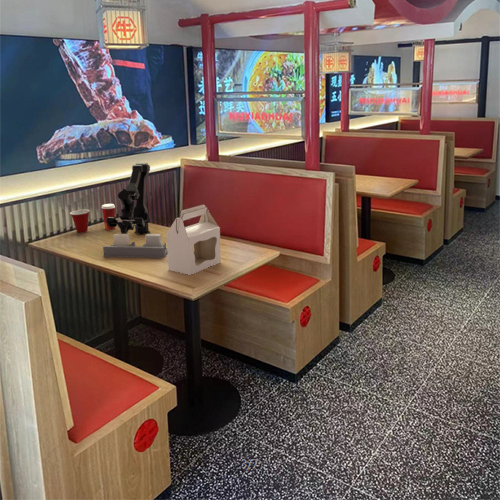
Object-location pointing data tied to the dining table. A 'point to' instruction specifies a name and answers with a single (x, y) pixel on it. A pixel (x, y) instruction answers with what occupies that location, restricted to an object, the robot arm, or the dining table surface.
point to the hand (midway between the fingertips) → (122, 236)
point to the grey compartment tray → (135, 251)
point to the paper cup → (108, 214)
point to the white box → (153, 240)
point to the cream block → (121, 240)
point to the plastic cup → (80, 220)
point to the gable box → (193, 242)
